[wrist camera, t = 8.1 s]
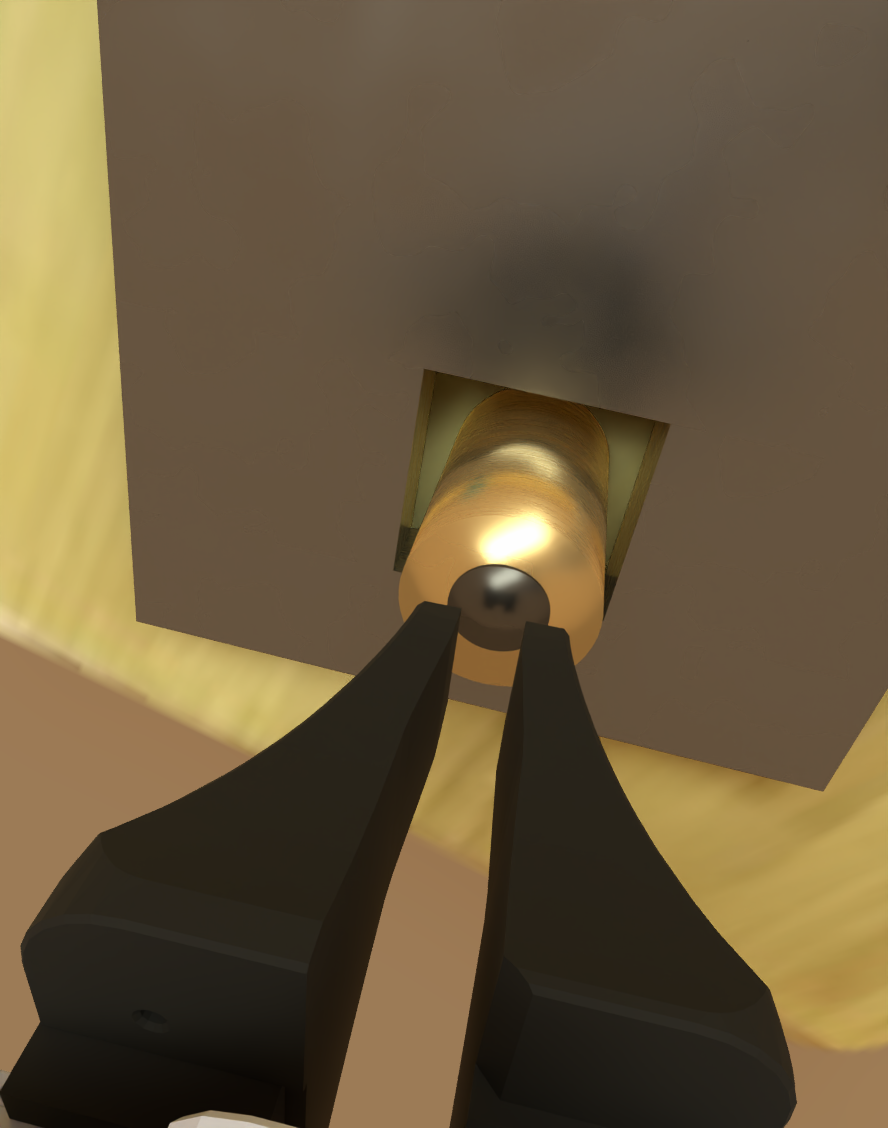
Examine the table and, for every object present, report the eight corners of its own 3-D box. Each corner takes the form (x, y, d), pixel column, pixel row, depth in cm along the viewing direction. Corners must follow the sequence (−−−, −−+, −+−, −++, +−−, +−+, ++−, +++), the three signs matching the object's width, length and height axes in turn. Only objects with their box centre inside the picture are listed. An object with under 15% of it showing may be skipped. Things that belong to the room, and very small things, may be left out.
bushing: (624, 400, 18) (624, 542, 13) (592, 537, 20) (581, 706, 15) (464, 374, 19) (404, 502, 14) (447, 512, 21) (390, 669, 16)
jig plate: (1209, 40, 13) (1291, 43, 12) (808, 735, 22) (822, 791, 21) (146, -159, 15) (85, -182, 13) (170, 579, 23) (136, 621, 22)
